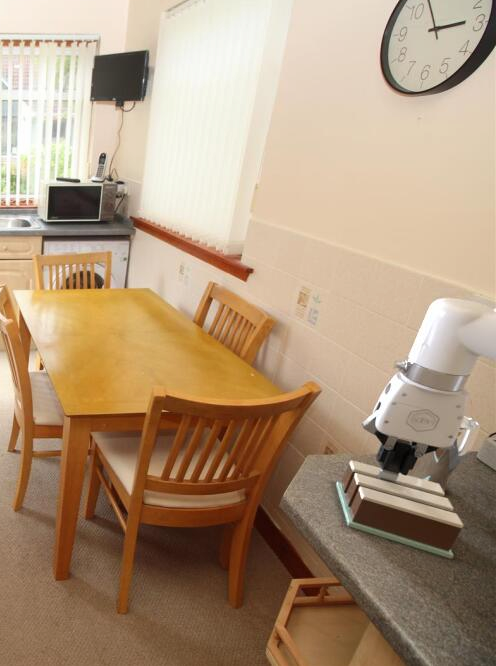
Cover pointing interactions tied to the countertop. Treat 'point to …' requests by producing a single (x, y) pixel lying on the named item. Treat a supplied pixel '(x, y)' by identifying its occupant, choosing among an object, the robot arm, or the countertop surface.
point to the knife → (396, 461)
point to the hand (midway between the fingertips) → (391, 467)
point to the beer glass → (446, 456)
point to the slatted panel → (399, 509)
